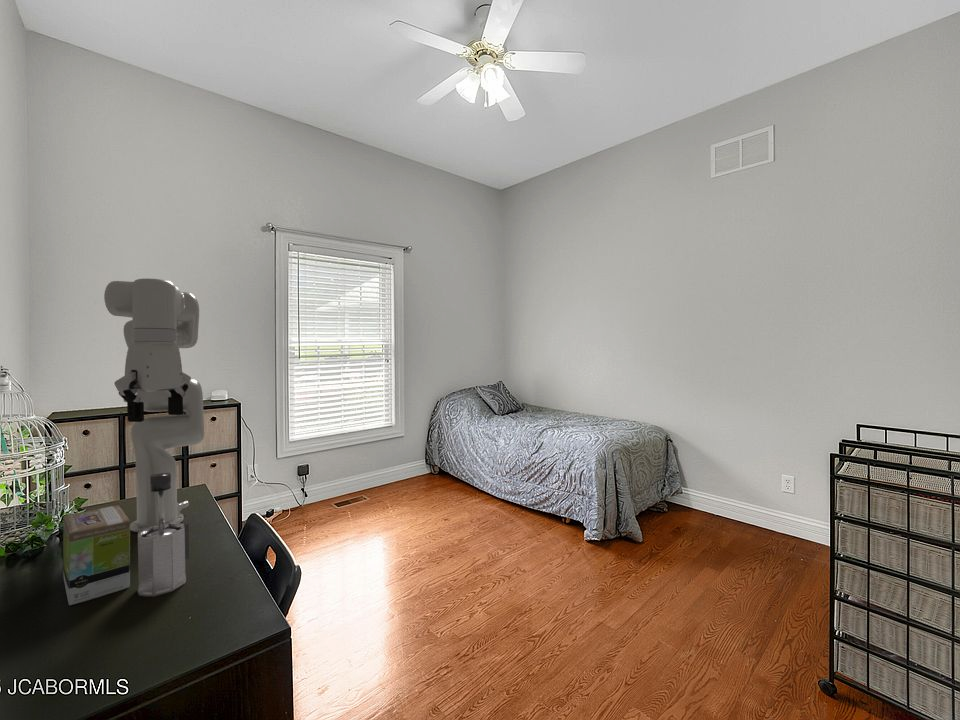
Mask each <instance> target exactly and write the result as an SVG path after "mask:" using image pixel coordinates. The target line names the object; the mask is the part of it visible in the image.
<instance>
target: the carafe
mask: <svg viewBox="0 0 960 720" xmlns="http://www.w3.org/2000/svg"><path fill="white" fill-rule="evenodd" d="M189 524H190V523H188V522H183V523H182V522H180V523H167V524H164V529H176V530H177V531H176V532H174V533H172V534H169V535H164V536H159V537H154V538H151V537H146V536H147V535H148V534H150V533H152V532H155V531H158V530H159V525H157V526H152V527H150V528H148V529H145V530H143V531H141V532H137V557H138V559H137V560H138V561H137V562H138V564H137V565H138V586H137V594H138V596H139V597H147V598H149V597H153V598H154V597H159V596H161V595H166V594H169V593H171V592H174V591H176V590H178V589H179V588H181V587H182V586H184V585H185V584H186V581H187V575H186V560H188V559H190V538H189V536H190V534H189V533H190V532H189V530H190V529H189Z"/></svg>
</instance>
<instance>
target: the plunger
mask: <svg viewBox="0 0 960 720" xmlns="http://www.w3.org/2000/svg"><path fill="white" fill-rule="evenodd" d="M170 488H171V473H159V474H155V475H152V476H150V491H151V492H158V519H159V530H158V531H155V532H152V533H150V534H148V535H147V536H146V537H151V538H154V537H159V536H164V535H169V534H172V533H174V532H176V531H177V530H176V529H164V491H165V490H168V489H170Z"/></svg>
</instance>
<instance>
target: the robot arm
mask: <svg viewBox="0 0 960 720" xmlns="http://www.w3.org/2000/svg"><path fill="white" fill-rule="evenodd" d="M103 298H104V299H103V300H104V305H105V307H106V310H107V311H108V313H109V314H111V315H112V316H116V317H123V318H124V317H125V318H132V319H131V320H128V321H126V322H125V324H124V325H123V336H124V341H125V344H126V345H127V352H126V357H125V366H124V376H122V377H120V378H119V379H117V380H115V381H114V386H115V388H116V390H117V392H118V395H119V396H120V397H121V398H122V399H123V402H124V403H126V405H127V406H126V407H127V411H126V413H127V422H128V423H131V422H133V424H132V426H131V430H130V431H131V432H130V435H131V436H130V437H131V440H132V445H133V451H134V457H135V486H136V487H135V488H136V520H135V521H133V522H131V523H130V532H134V533H139V532H141V531H143V530H145V529H148V528H150V527H152V526H157V525H159V519H158V492H151V491H150V476H152V475H155V474H159V473H171V488H170V489H168V490H165V491H164V524H167V523H182V522H183V521H184V518H185V517H184V516H185V515H184V514H183V513H181V512H180V511H182V510H183V509H186V508H187V507H189V506H190V502H189V501H188V500H185V501H182V502H178V489H177V488H178V483H177V482H178V481H177V480H178V479H177V478H178V477H177V476H178V475H177V474H178V473H177V462H176V459H175V458H174V457H173V456H172V455H171V453H169V452H168V451H166V450H167V449H171V448H180V447H188V446H195V445H198V444H200V443H202V441H203V440H204V435H205V419H204V418H205V417H204V416H205V415H204V395H203V388H202V385H201V383H200V382H199V381H198V380H196V379H193V378H192V377H191V376H190V375H189V374H187V373H185V372H183V367H182V358H181V352H180V349H190V348H193V347H195V346H196V344H197V342H198V339H199V323H200V305H199V301H198V299H197V297H196V296H195V295H194V294H193V293H190V292H188V291H187V292H186V291H181V290H180V288H179V287H177V286H176V285H175V284H174V283H173V282H172V281H170V280H166V279H160V278H159V279H158V278H139V279H135V280H134V281H128V280H127V281H124V280H113V281H110V282H108V284H107V285H106V287H105V290H104V296H103ZM145 412H146V413H147V412H148V413H155V412H156V413H157V412H167V414H168V415H157V416H147V417H145ZM184 412H185V414H184Z"/></svg>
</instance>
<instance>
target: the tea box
mask: <svg viewBox="0 0 960 720" xmlns="http://www.w3.org/2000/svg"><path fill="white" fill-rule="evenodd" d="M62 518H63V519H62V520H63V521H62V561H63V562H62V566H63V567H62V571H63V572H62V574H63V576H62V578H63V582H64V587H65V594H66V598H67V602H68V606H72V605H76V604H80V603H85V602H87V601H90V600H94V599H97V598H100V597H103V596H107V595H109V594H112V593H113V594H114V593H116V592H119V591H123V590H125V589H128V588H130V586H131V552H130V551H131V530H130V525H131V522H130V519H129V517H128V516H127V515H126V513H125V512H124V510H123V509H122V508H121V507H120V505H119V504H118V505H111V506H106V507H102V508H101V507H100V508H96V509H91V510H86V511H81V512H75V513H71V514H66V515H63V517H62Z"/></svg>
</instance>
